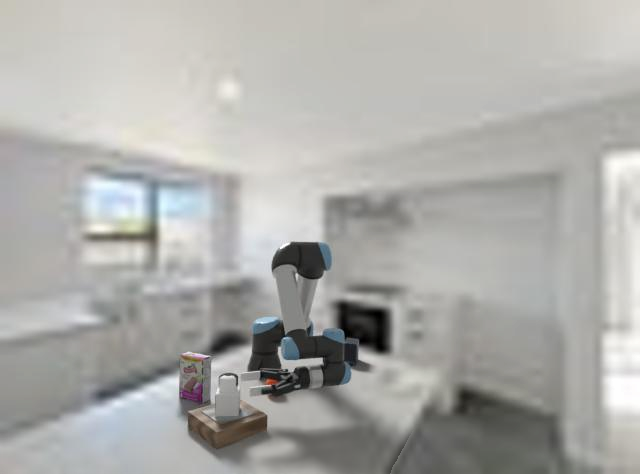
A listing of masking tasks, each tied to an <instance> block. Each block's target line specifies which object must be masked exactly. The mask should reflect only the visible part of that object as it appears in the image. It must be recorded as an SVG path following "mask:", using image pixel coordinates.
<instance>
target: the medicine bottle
mask: <svg viewBox="0 0 640 474" xmlns="http://www.w3.org/2000/svg"><path fill="white" fill-rule="evenodd" d="M216 389H217V390H216V392H215V395H214V396H215V398H214V399H215V401H214V404H215V417H237V416H238V414H239V409H240V400H241V386H240V385H239V374H236V373H234V372H225V373H222V374H220V375H219V376H218V387H217V388H216Z"/></svg>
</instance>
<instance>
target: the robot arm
mask: <svg viewBox="0 0 640 474" xmlns="http://www.w3.org/2000/svg"><path fill="white" fill-rule="evenodd" d="M332 261H333V259H332V251H331V248H330V246H329V245H328V244H327V243H326V242H324V241H323V242H322V241H321V242H320V241H294V240H293V241H288V242H286V243H283V244H281V246H279V247H278V249H277V250H276V251H275V253H274V255H273V256H272V260H271V275H272V277H273V278H274V279H275V283H276V287H277V293H278V300H279V306H280V311H281V317H282V318H281V319H282V320H280V318H279V317H277V316H265V317H260V318H257V319H255V320H254V322H253V323H252V329H251V335H252V336H251V355H250V357H249V361H248V364H247V369H246V370H247V371H245V372H240V382H246V381H247V382H249V381H257V380H259V381H261V380H262V379H265V380H268V379H270V380H276V381H277V382H279V383H277V384H272V388H271V385H266V384H265V385H258V386H249V396H250V397H251V398H252V397H258V396H260V397H261V396H268V395H272V396H275V398H279V397H282V396H285V395H287V394H290V393H292V392H294V391H295V392H296V391H303V390H308V389H313V390H316V389H319V388H326V387H334V386H336V387H337V386H344V385H347V384H348V383H350V381H352V380H351V379H352V371H351V365H349V364H348V363H347V362H344V345H345V340H346V339H345V332H344V330H343V329H341V328H336V327H329V328H324V329H323V330H322V331H323V332H322V335H314V323H313V321H312V320H311V319H312V318H311V317H310V314H311V310H312V305H313V303H314V298H315V294H316V289H317V286H318V282H319V280H320V279H322V278H323V276H324V274H325V272H328V271H330V270H331V268H332V266H333V265H332V263H333V262H332ZM296 274H297V277H296ZM279 347H280V354H279ZM279 355H281V358H282V359H283V360H286V361H298V360H309V359H321V358H322V363H321V364H309V365H303V366H302V365H301V366H296V367H294V369H293V371H292V372H291V371H289V369H288V368H283V367H282V363H281V360H280V356H279ZM279 392H280V393H279Z"/></svg>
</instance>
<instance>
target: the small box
mask: <svg viewBox="0 0 640 474" xmlns="http://www.w3.org/2000/svg"><path fill="white" fill-rule="evenodd" d="M344 340H345V345H344V362H347V363H348V364H349V365H350V366H354V367H355V366H356V365H357V363H358V360H359V349H360V347H359V346H360V339H359V338H352V337H346V339H344Z"/></svg>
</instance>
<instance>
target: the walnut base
mask: <svg viewBox="0 0 640 474" xmlns="http://www.w3.org/2000/svg"><path fill="white" fill-rule="evenodd" d="M268 416H269V415H268V414H266V413H265V412H263V411H261V410H259V409H258V408H256V407H254V406H253V405H251V404H249V403H247V402H246V401H244V400H242V399H240V409H239V414H238V416H237V417H215V403H213V404H209V405H205V406H202V407H199V408H195V409H191V410H188V411H187V428H189V430H191V431H192V432H194V433H195V434H196V435H197V436H199V437H200V438H201V439H202V440H204V442H206V443H207V444H209V445H210V446H212V447H213V448H214V449H215V450H218V449H221V448H224V447H227V446H229V445H231V444H235V443H237V442H241V441H243V440H246V439H248V438H252V437H254V436H256V435H259V434H262V433H265V432H267V431H268Z"/></svg>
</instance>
